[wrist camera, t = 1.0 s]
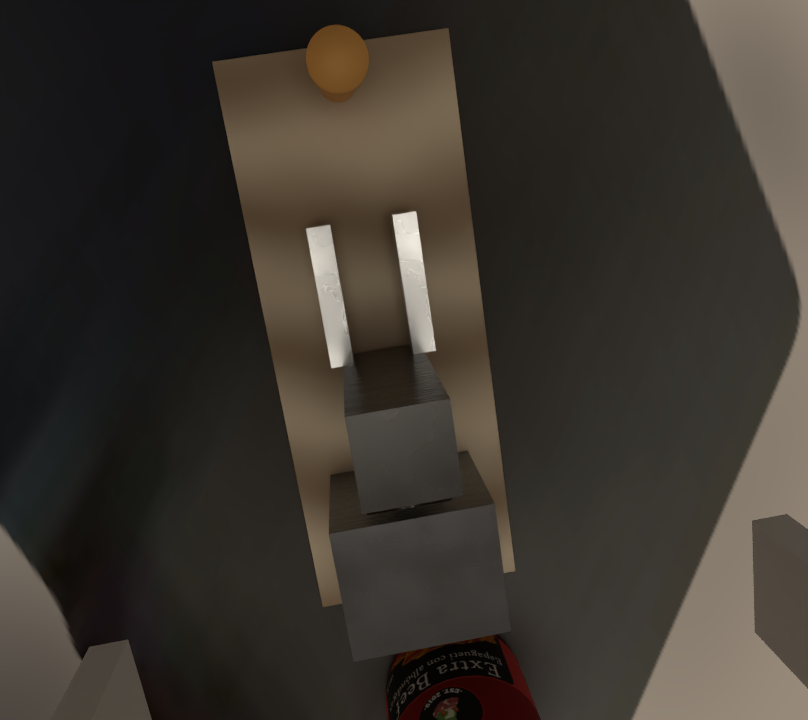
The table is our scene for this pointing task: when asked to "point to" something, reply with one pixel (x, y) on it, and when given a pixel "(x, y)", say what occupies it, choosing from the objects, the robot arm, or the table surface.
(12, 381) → the table surface
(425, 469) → the two-pronged fork block
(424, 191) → the rail board
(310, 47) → the keeper post
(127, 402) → the table surface
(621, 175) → the table surface
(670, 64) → the table surface
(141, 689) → the robot arm
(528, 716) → the canned food
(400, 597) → the block
